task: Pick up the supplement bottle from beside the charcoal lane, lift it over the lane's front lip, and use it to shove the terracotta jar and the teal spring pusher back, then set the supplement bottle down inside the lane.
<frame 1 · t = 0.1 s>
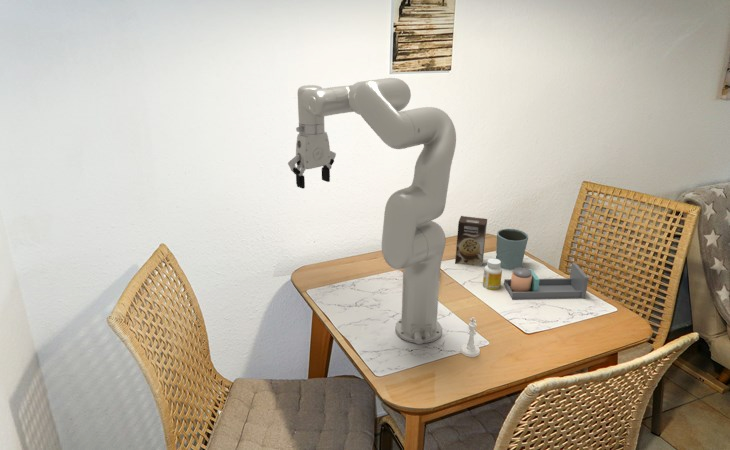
hand: (313, 184, 171), 31 cm above the table, tool pointing down, fingers open, 9 cm apart
lane: (542, 293, 171), on the table
jar: (520, 291, 170), point 1 cm above the table, touching lane, pusher
teal cup: (509, 267, 188), on the table
chess piece: (470, 352, 143), on the table
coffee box: (469, 264, 191), on the table
pusher: (532, 282, 169), point 4 cm above the table, slide at 5.4 cm, touching jar
supplement bottle: (491, 289, 174), on the table
medicine box: (421, 280, 180), on the table
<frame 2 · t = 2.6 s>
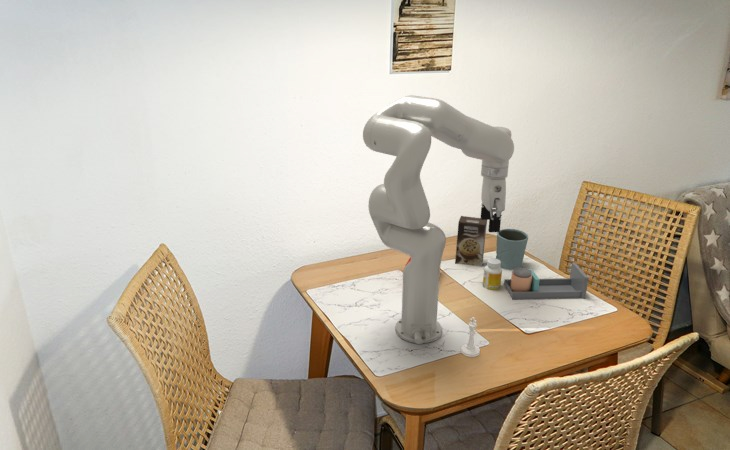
hand: (489, 225, 167), 21 cm above the table, tool pointing down, fingers open, 9 cm apart
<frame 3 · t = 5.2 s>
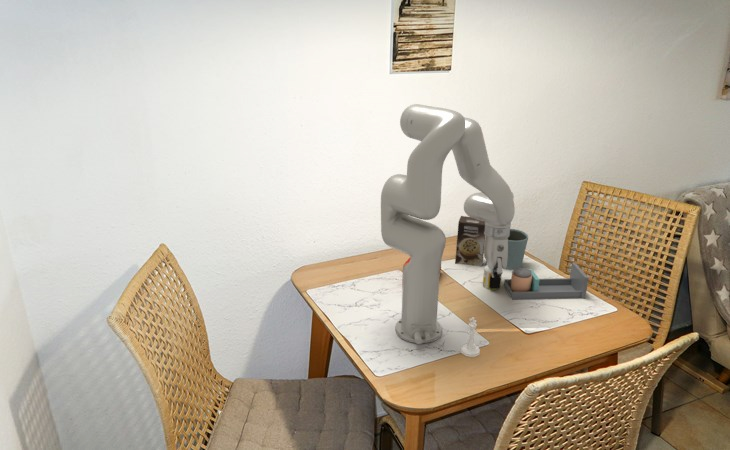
hand: (491, 282, 173), 2 cm above the table, tool pointing down, fingers closed on supplement bottle, 5 cm apart
supplement bottle: (491, 289, 174), on the table, touching gripper
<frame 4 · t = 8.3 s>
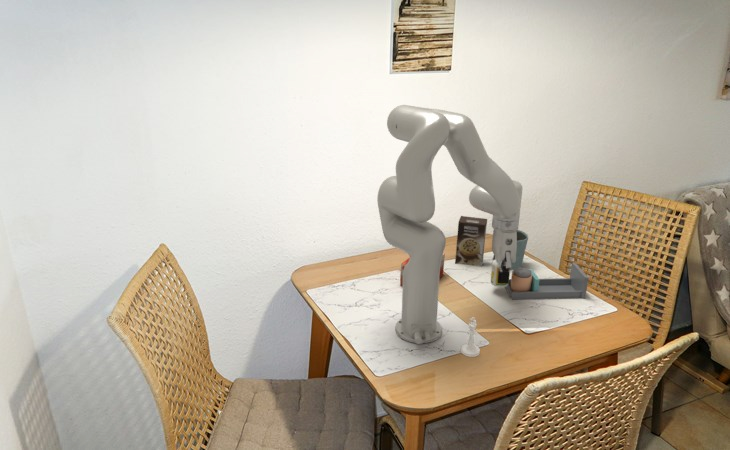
hand: (499, 277, 168), 6 cm above the table, tool pointing down, fingers closed on supplement bottle, 5 cm apart
supplement bottle: (499, 284, 169), point 4 cm above the table, touching gripper
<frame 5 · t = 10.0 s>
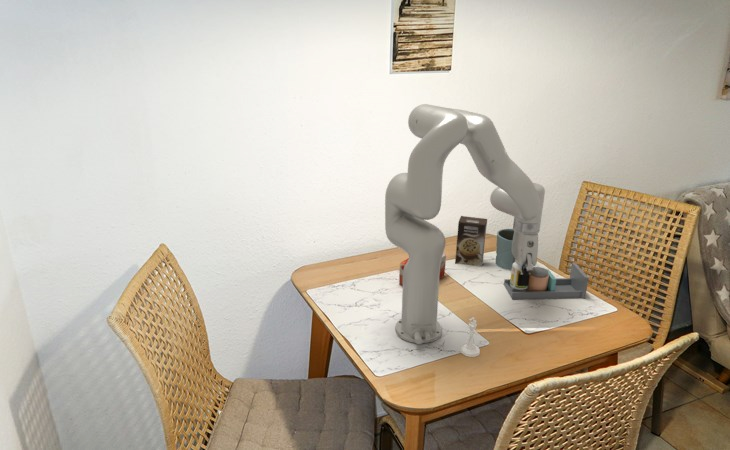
hand: (519, 280, 169), 5 cm above the table, tool pointing down, fingers closed on supplement bottle, 5 cm apart
jar: (536, 291, 171), point 1 cm above the table, touching supplement bottle, lane, pusher
pusher: (549, 282, 170), point 4 cm above the table, slide at 10.5 cm, touching jar
supplement bottle: (518, 286, 169), point 3 cm above the table, touching gripper, jar
when the fingers open (4 cm above the table, at t = 11.2 s): supplement bottle stays where it is, resting on jar, lane.
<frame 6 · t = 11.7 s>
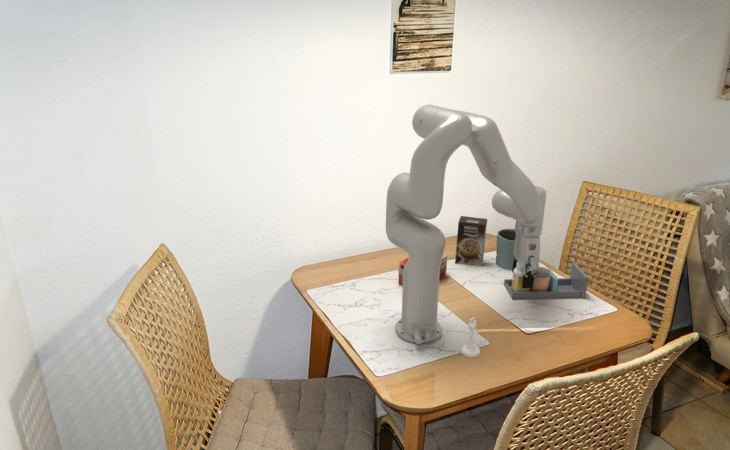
hand: (522, 280, 169), 5 cm above the table, tool pointing down, fingers open, 9 cm apart
pusher: (550, 282, 170), point 4 cm above the table, slide at 11.0 cm, touching jar
supplement bottle: (520, 292, 170), point 1 cm above the table, touching jar, lane
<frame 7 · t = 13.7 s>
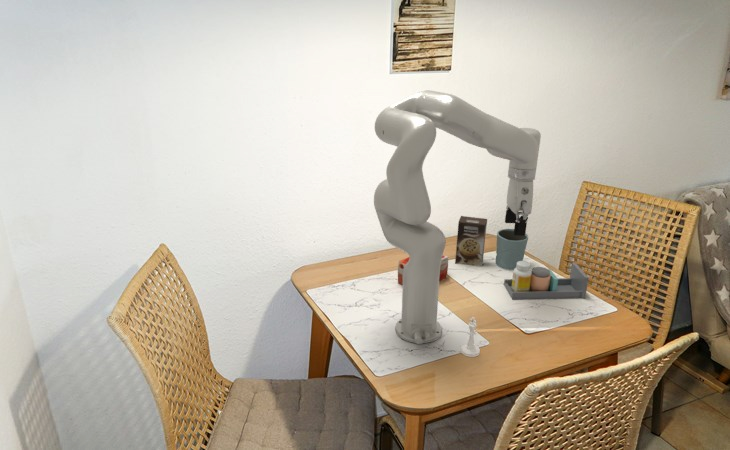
hand: (514, 228, 164), 21 cm above the table, tool pointing down, fingers open, 9 cm apart
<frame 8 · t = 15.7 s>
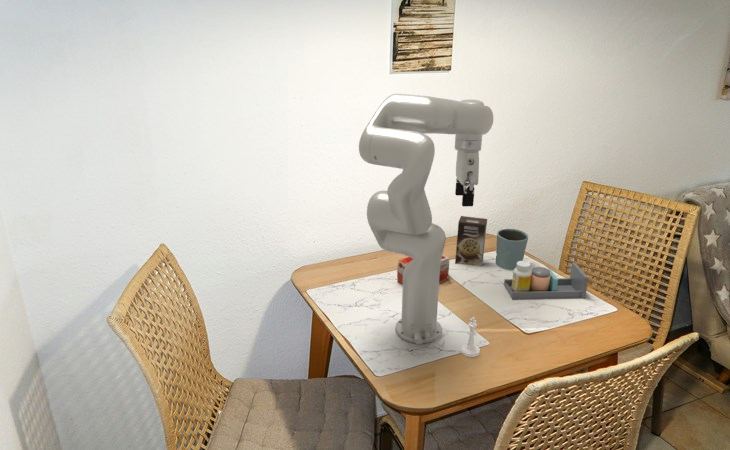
hand: (463, 200, 166), 28 cm above the table, tool pointing down, fingers open, 9 cm apart
at the end: supplement bottle 0.3 cm from the target spot on the lane, point 0.8 cm above the lane's base; supplement bottle tilted 0°; pusher slide at 11.0 cm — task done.
